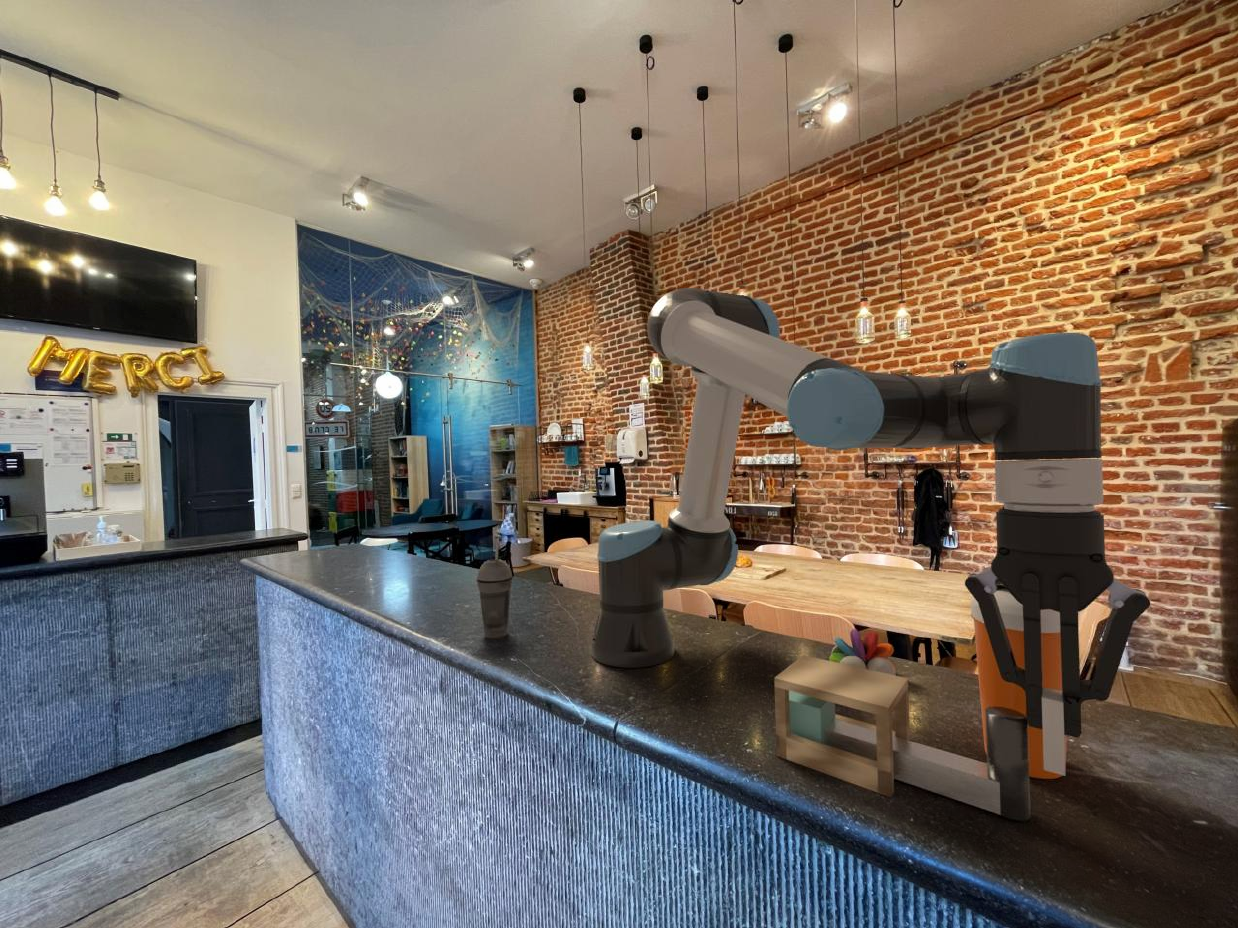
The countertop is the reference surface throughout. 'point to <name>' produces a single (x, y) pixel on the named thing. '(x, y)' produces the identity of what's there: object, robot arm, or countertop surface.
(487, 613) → the beverage cup
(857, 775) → the tunnel
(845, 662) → the rainbow segmented toy
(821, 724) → the block
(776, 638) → the countertop surface
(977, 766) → the hammer
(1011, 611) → the shaker bottle
